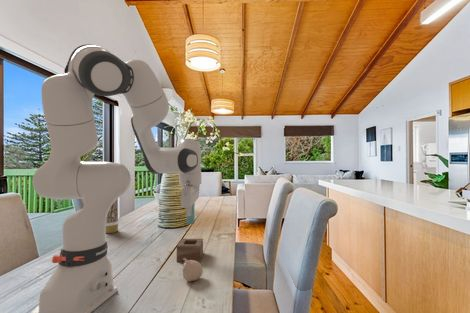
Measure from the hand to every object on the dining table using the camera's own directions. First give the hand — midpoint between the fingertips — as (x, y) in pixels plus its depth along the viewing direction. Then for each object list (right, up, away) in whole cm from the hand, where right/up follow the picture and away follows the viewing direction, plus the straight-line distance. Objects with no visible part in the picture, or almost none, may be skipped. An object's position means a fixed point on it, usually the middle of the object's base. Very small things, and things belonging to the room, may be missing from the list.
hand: (190, 214), depth 103 cm
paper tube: (-49, -18, +36) cm, 63 cm away
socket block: (0, -17, 0) cm, 17 cm away
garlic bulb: (+4, -17, -19) cm, 26 cm away
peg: (0, -4, 0) cm, 4 cm away
